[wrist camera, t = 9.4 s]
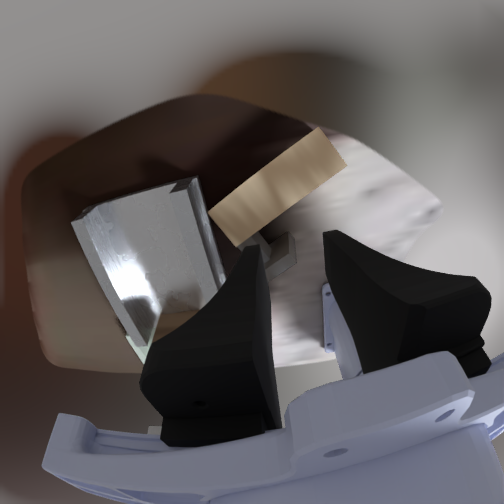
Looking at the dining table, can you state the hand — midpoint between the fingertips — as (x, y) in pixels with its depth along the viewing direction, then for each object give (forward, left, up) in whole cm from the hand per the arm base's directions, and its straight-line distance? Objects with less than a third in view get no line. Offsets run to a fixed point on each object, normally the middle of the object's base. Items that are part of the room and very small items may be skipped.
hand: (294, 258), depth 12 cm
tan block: (-3, +3, -8) cm, 9 cm away
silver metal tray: (-5, +10, -10) cm, 15 cm away
